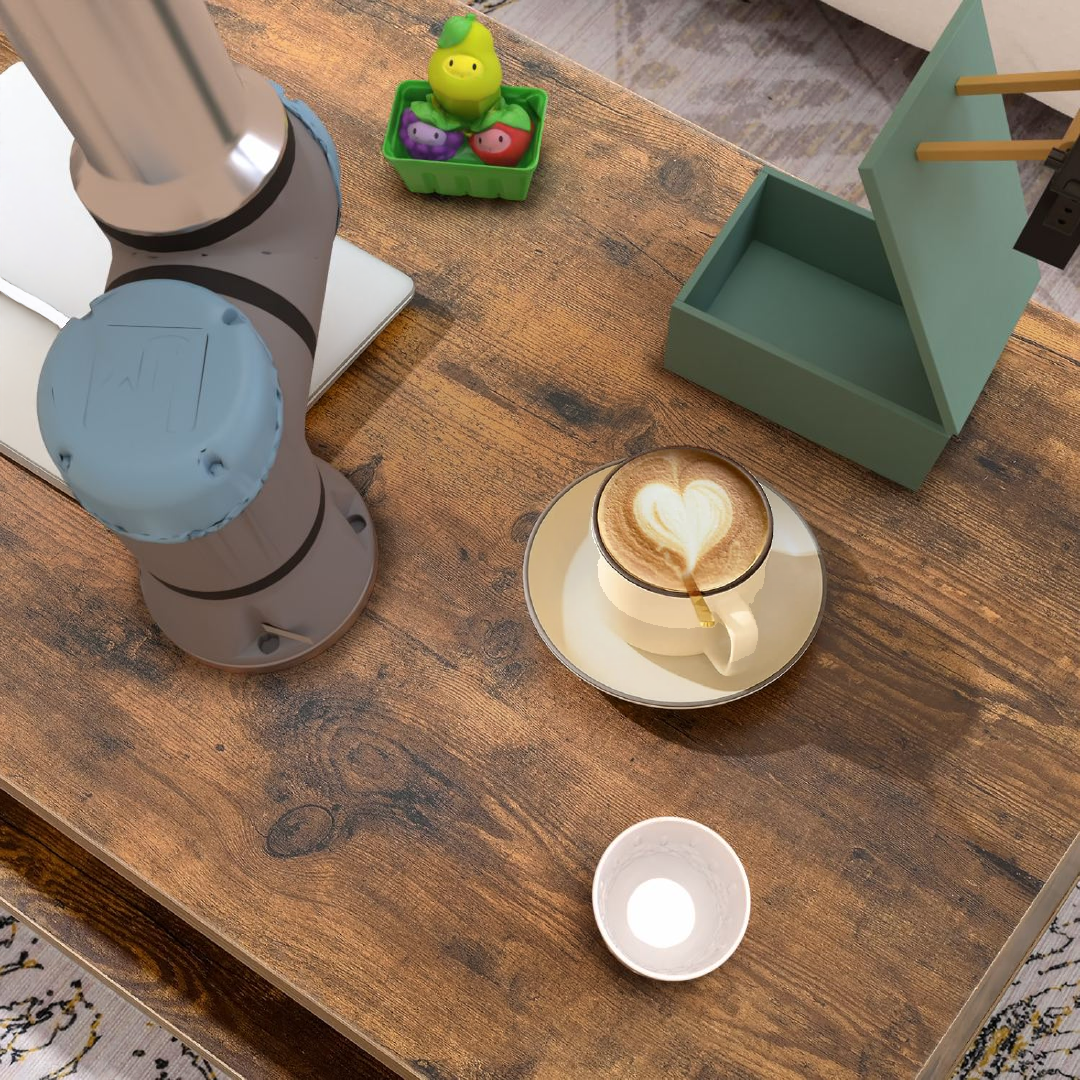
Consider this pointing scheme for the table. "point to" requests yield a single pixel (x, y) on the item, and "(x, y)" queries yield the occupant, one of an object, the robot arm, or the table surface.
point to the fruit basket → (465, 121)
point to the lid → (959, 207)
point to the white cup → (671, 899)
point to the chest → (809, 329)
